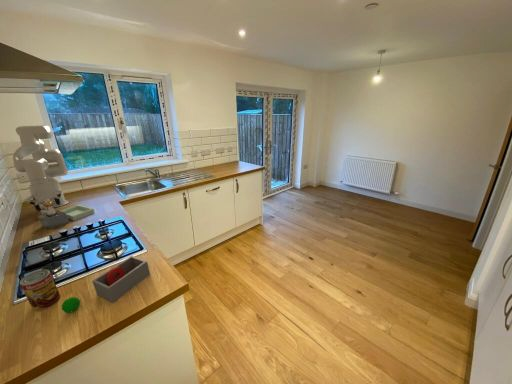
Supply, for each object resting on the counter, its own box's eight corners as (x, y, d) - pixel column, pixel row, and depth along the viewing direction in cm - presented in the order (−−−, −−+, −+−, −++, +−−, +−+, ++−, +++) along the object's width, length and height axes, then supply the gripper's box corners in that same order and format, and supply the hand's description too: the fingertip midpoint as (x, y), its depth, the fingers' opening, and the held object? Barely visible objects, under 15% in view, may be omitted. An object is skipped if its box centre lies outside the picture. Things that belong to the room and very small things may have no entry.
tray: (59, 215, 150) (57, 211, 149) (80, 208, 161) (78, 204, 160) (74, 220, 143) (72, 216, 142) (94, 212, 154) (93, 208, 153)
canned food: (42, 313, 76) (29, 287, 72) (27, 308, 78) (13, 282, 74) (65, 296, 83) (55, 271, 79) (51, 292, 85) (40, 267, 81)
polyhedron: (84, 303, 80) (80, 293, 79) (76, 314, 76) (72, 304, 74) (69, 305, 79) (65, 295, 78) (60, 316, 75) (56, 306, 73)
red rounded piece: (116, 293, 85) (111, 277, 82) (109, 289, 86) (104, 273, 84) (142, 273, 95) (139, 258, 92) (135, 270, 97) (131, 256, 94)
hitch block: (42, 226, 136) (37, 216, 134) (60, 219, 145) (57, 210, 142) (50, 229, 132) (46, 219, 130) (69, 222, 141) (65, 212, 138)
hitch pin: (48, 222, 136) (40, 203, 132) (57, 219, 141) (50, 200, 136) (52, 224, 135) (44, 204, 130) (61, 220, 139) (54, 202, 134)
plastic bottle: (57, 213, 154) (47, 187, 147) (45, 217, 148) (34, 190, 141) (52, 212, 156) (42, 186, 149) (40, 216, 150) (29, 189, 143)
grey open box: (97, 295, 84) (92, 280, 81) (135, 268, 98) (131, 255, 95) (113, 303, 80) (108, 288, 77) (150, 274, 94) (147, 261, 92)
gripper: (53, 177, 137) (62, 201, 143) (16, 184, 122) (27, 212, 128) (59, 178, 134) (68, 203, 140) (22, 186, 119) (34, 214, 125)
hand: (49, 207), depth 134 cm, fingers open, 9 cm apart
